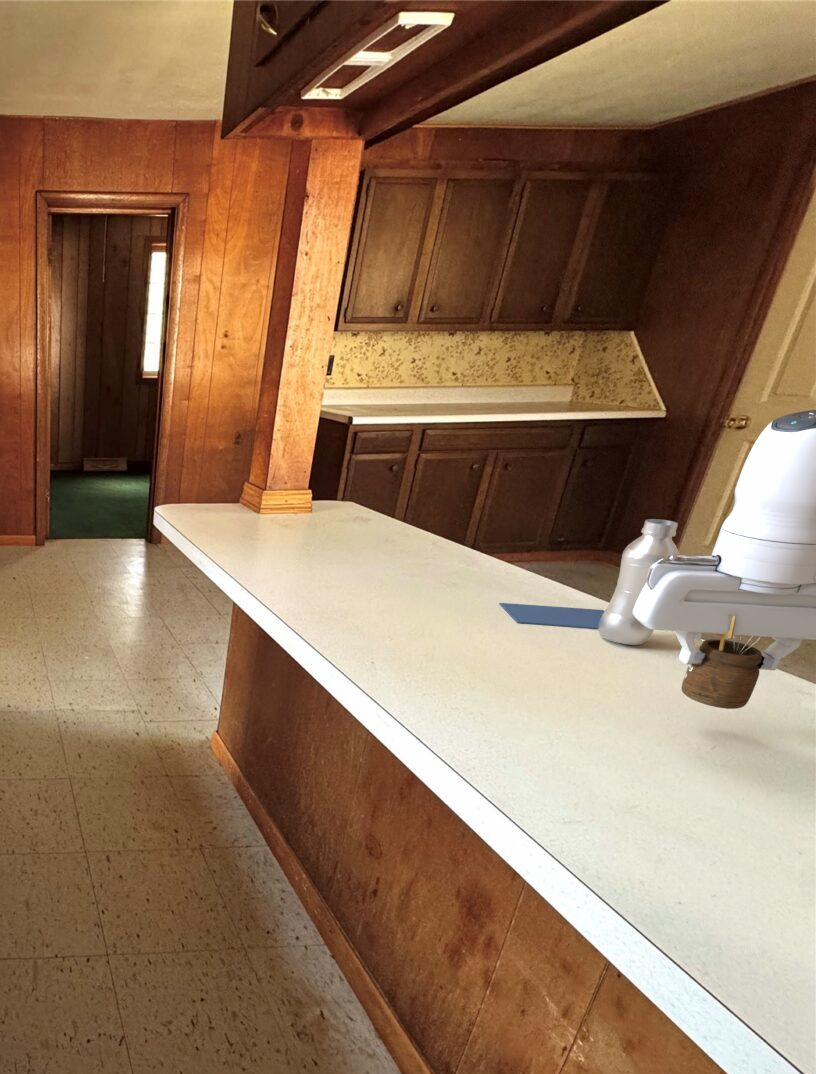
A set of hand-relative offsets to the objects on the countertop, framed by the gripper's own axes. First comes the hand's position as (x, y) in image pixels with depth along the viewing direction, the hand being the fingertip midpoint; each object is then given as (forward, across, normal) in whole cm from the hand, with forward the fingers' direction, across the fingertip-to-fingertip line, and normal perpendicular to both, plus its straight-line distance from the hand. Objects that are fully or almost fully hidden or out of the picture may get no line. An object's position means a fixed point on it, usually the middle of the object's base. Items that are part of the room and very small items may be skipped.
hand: (725, 665), depth 80 cm
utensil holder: (+5, 0, 0) cm, 5 cm away
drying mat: (+9, -2, +37) cm, 38 cm away
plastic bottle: (+10, +4, +28) cm, 30 cm away
